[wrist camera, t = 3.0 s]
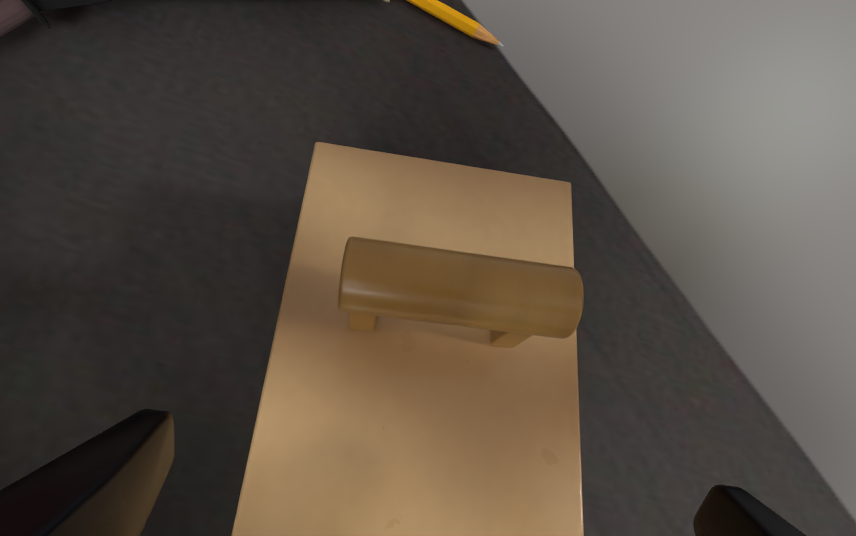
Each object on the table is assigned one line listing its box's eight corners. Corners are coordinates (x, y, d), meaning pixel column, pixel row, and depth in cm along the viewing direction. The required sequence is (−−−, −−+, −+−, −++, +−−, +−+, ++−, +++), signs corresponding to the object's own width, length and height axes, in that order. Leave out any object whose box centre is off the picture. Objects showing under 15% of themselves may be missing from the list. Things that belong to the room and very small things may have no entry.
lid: (317, 154, 16) (302, 31, 11) (562, 193, 17) (643, 94, 12) (225, 594, 11) (133, 697, 6) (573, 613, 12) (713, 716, 7)
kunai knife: (302, -86, 26) (295, -151, 22) (-232, 256, 18) (-355, 229, 15) (248, -134, 26) (234, -205, 23) (-300, 183, 18) (-436, 141, 15)
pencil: (366, -20, 26) (372, -21, 27) (499, 54, 26) (502, 52, 26) (370, -36, 26) (376, -36, 26) (505, 40, 25) (509, 38, 26)
